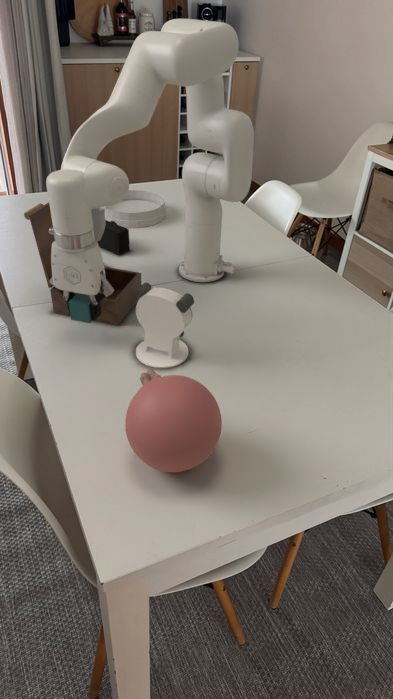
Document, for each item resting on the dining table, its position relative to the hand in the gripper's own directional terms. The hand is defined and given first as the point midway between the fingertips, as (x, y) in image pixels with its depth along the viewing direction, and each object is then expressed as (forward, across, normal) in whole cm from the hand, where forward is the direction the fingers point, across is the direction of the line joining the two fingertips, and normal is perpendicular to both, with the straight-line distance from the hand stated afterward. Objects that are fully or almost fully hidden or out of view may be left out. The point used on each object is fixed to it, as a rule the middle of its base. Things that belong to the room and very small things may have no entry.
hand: (85, 314), depth 110 cm
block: (0, 0, 0) cm, 0 cm away
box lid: (-9, -13, +15) cm, 22 cm away
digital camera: (+7, -14, +45) cm, 48 cm away
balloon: (+6, +28, -25) cm, 38 cm away
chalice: (+7, -12, +30) cm, 33 cm away
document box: (+6, -4, +14) cm, 16 cm away
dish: (+8, -19, +71) cm, 74 cm away
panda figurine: (+6, +18, 0) cm, 19 cm away
